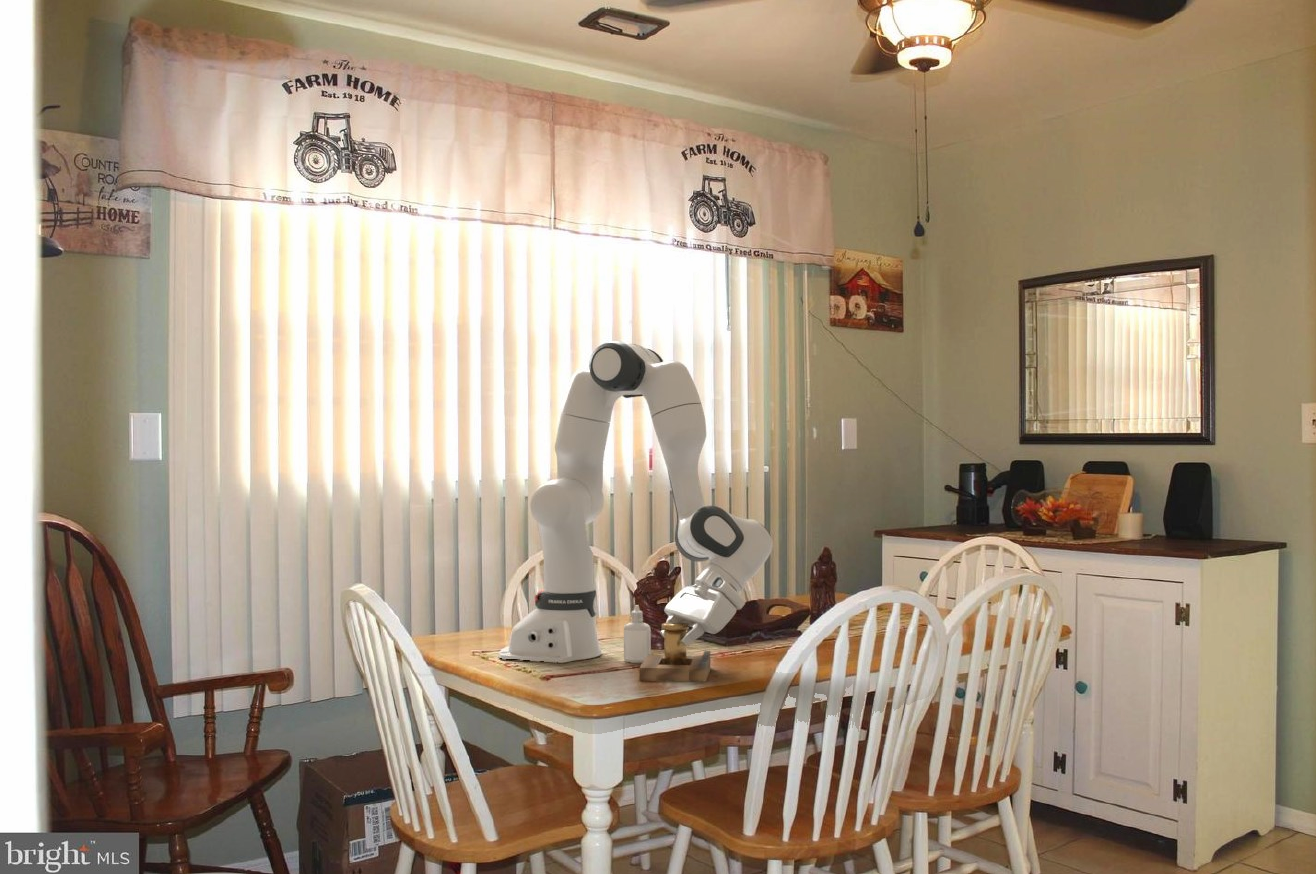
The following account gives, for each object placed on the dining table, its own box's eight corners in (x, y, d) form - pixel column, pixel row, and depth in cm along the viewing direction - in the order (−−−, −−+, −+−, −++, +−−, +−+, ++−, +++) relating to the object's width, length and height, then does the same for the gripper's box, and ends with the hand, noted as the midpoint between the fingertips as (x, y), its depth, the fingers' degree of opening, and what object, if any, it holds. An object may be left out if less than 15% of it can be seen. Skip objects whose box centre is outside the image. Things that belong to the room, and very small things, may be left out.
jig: (639, 680, 202) (639, 662, 202) (648, 667, 215) (647, 650, 215) (705, 681, 200) (705, 663, 200) (710, 668, 213) (710, 651, 213)
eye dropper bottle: (639, 665, 217) (639, 607, 217) (620, 661, 221) (620, 605, 221) (654, 661, 220) (653, 605, 220) (635, 658, 224) (634, 603, 224)
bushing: (660, 676, 205) (660, 626, 205) (663, 671, 210) (663, 622, 211) (687, 677, 204) (687, 626, 205) (690, 671, 210) (689, 622, 210)
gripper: (684, 572, 220) (642, 622, 216) (729, 583, 201) (684, 637, 197) (703, 592, 222) (661, 642, 218) (749, 604, 203) (705, 659, 199)
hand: (673, 640), depth 207 cm, fingers open, 8 cm apart
